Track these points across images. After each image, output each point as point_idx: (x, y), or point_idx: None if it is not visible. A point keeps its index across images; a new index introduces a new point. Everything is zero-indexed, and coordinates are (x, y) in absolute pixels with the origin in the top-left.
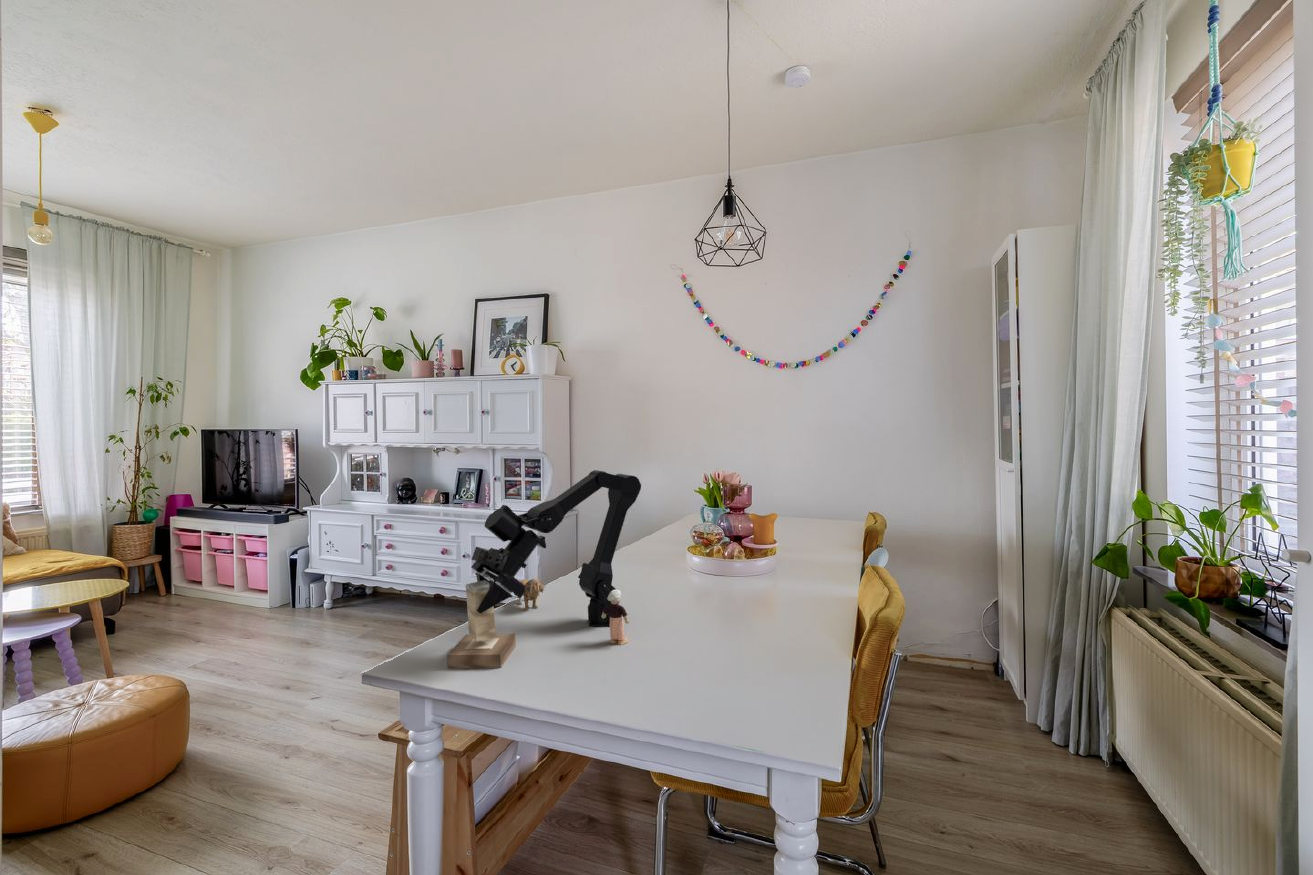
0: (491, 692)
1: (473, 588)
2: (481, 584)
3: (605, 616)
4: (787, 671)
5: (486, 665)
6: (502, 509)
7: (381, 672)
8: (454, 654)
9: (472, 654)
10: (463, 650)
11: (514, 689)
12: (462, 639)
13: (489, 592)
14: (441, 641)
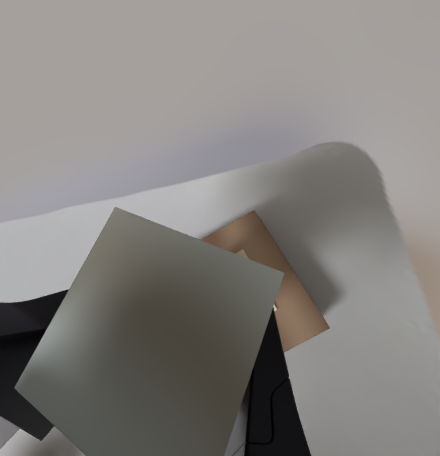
0: (129, 198)
1: (119, 218)
2: (120, 347)
3: None
4: None
5: None
6: None
7: (352, 149)
8: (242, 220)
9: (207, 238)
10: (241, 244)
11: (104, 221)
12: (303, 293)
13: (62, 299)
14: (417, 320)
